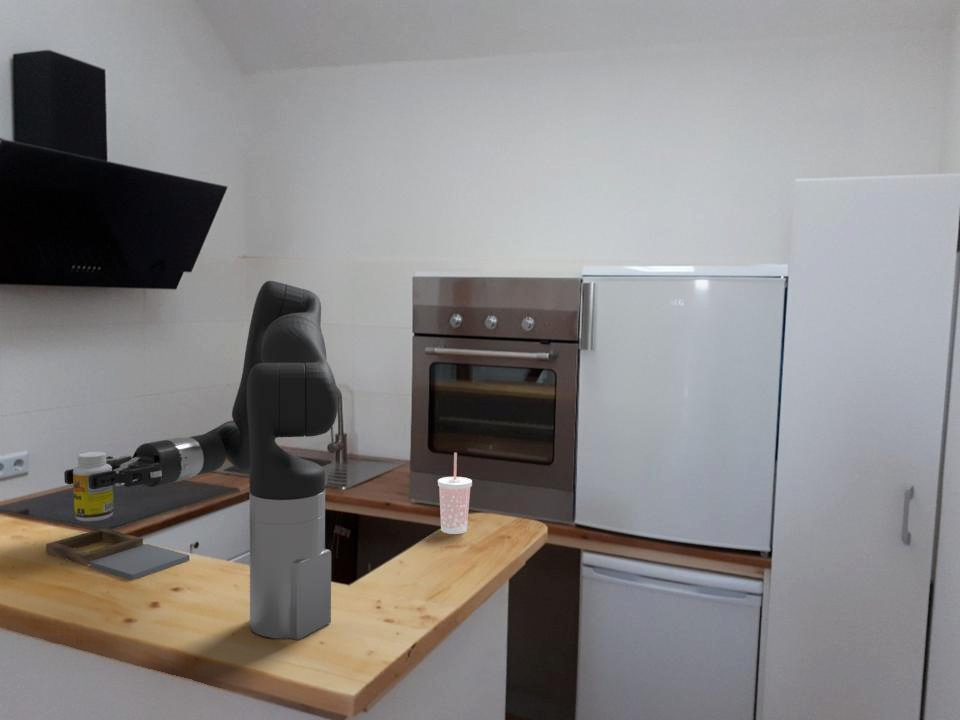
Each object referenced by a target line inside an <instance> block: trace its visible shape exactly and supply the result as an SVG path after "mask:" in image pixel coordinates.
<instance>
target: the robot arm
mask: <svg viewBox="0 0 960 720" xmlns="http://www.w3.org/2000/svg"><path fill="white" fill-rule="evenodd" d="M251 314H252V315H251V320H250V324H249V329H248V334H247V340H246V346H245V352H244V359H243V360H244V361H243V368H242V374H241V379H240V383H239V386H238V389H237V393H236V396H235V399H234V403H233V406H232V410H231V417H232V420H229V421H228V420H227V421H226V422H224V423H223V424H220V425H219V426H217V427H215V428H213V429H211V430H209V431H207V432H206V433H203V434H198V435H194V436H193V435H192V436H188V437H187V436H186V437H174V438H168V439H163V440H162V439H161V440H156V441H152V442H145V443H143V444H141V445H138V447H137V448H136V450H135V451H134V454H133V455H121V456H119V457H116V458H114V457H113V456H111V455H110V456H108V455H107V456H106V463H105V464H109V465H111V467H112V471H107V472H102V473H97V474H92V475H90V476H89V488H90V489H98V488H103V487H107V486H112V485H113V487H114V486H115V487H121V486H124V487H127V488H130V487H133V486H139V485H140V486H141V485H142V486H144V487H146V488H155V487H158V486H159V487H160V486H163V485H168V484H171V483H175V482H176V483H177V482H180V481H183V480H188V479H190V478H192V477H194V476H196V477H197V476H200V475H205V474H209V473H211V472H215V471H217V470H219V469H220V468H222V466H224V464H225V462H226V460H227V461H228V462H230V464H231V465H232V466H233V467H234V468H235V469H236V470H238V471H240V472H243V473H249V628H250V629H251V631H252V632H253V633H255V634H256V635H259V636H262V637H265V638H266V637H267V638H274V639H275V638H276V639H294V640H300V639H302V638H305V637H306V636H308V635H310V634H311V633H313V632H316V631H317V630H319V629H321V628H323V627H324V626H326V625H328V624H331V622H332V617H331V616H332V551H331V550H330V549H327V548H326V472H325V469H324V468H323V467H322V466H321V465H320V464H318V463H316V462H314V461H311V460H309V459H304V458H302V457H298V456H295V455H293V454H291V453H290V452H288V451H286V450H285V449H283V448H281V447H280V446H279V445H278V444H277V442H276V439H277V438H304V437H306V438H307V437H308V438H309V437H311V438H312V437H317V436H320V435H324V434H326V433H328V432H329V431H331V429H332V427H333V425H334V424H335V422H336V419H337V415H338V407H339V398H338V397H339V395H338V389H337V384H336V379H335V375H334V373H333V371H332V368H331V366H330V365H329V362H328V360H327V350H326V343H325V338H324V335H323V332H322V328H321V322H322V321H321V320H322V303H321V301H320V298H319V296H318V295H317V294H316V293H315V292H313V291H311V290H308V289H306V288H300V287H297V286H293V285H290V284H287V283H282V282H279V281H274V280H268V281H265V282H264V283H262V285H261V287H260V289H259V291H258V293H257V295H256V299H255V301H254V306H253V309H252V313H251ZM73 470H74V468H70V469H66V470H65V471H64V474H63V475H64V476H63V477H64V483H65V484H67V485H73Z"/></svg>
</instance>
